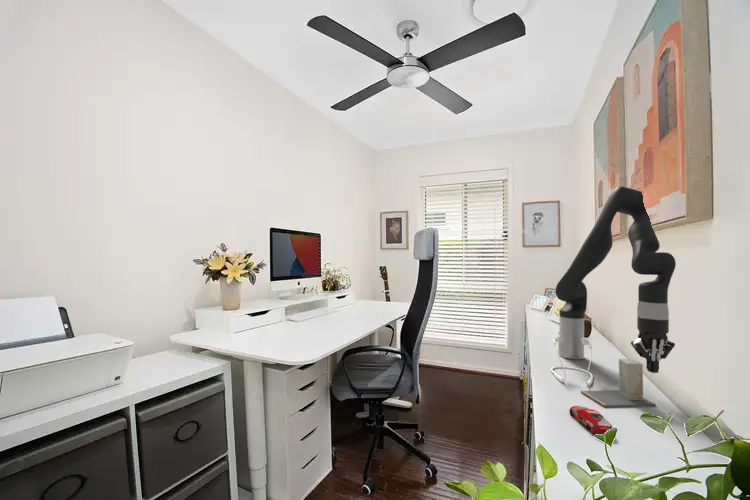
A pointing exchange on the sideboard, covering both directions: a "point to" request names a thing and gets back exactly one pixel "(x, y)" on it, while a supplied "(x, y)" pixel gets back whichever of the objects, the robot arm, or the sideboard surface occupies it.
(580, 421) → the race car
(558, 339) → the earphone
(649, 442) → the sideboard surface
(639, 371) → the box
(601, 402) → the mat
